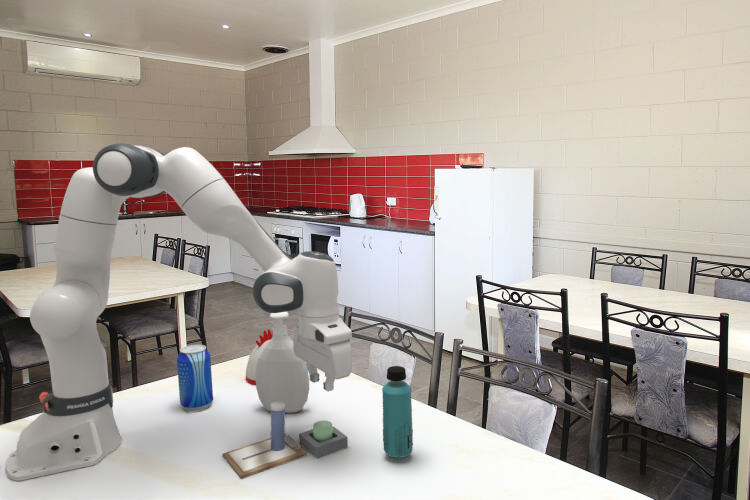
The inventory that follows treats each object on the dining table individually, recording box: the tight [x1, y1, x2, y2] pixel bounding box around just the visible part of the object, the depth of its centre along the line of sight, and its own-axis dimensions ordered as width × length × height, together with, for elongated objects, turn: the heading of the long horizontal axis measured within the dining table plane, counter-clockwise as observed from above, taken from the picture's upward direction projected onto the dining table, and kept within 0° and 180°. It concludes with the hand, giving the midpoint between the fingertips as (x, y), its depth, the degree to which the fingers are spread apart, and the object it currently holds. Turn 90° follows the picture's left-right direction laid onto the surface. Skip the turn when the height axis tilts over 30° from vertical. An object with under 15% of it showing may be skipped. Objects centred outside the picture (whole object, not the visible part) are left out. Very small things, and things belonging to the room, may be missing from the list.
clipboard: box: [221, 433, 308, 479], centre depth 116 cm, size 15×11×1 cm
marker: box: [270, 401, 286, 451], centre depth 117 cm, size 3×3×10 cm
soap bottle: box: [255, 311, 310, 414], centre depth 137 cm, size 14×8×27 cm, turn 79°
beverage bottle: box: [381, 365, 414, 458], centre depth 113 cm, size 6×7×20 cm
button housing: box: [298, 426, 349, 459], centre depth 120 cm, size 8×8×2 cm
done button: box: [312, 420, 334, 443], centre depth 119 cm, size 4×4×4 cm
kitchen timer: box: [245, 328, 273, 387], centre depth 160 cm, size 14×14×15 cm
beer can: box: [176, 344, 214, 412], centre depth 141 cm, size 8×8×16 cm
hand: (321, 385), depth 118 cm, fingers open, 5 cm apart
